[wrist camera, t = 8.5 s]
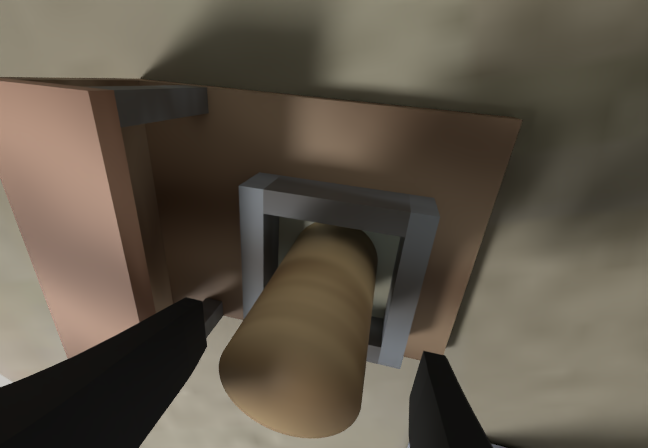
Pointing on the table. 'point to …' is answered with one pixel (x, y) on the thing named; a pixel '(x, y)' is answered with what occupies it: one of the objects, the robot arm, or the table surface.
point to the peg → (307, 337)
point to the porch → (241, 199)
